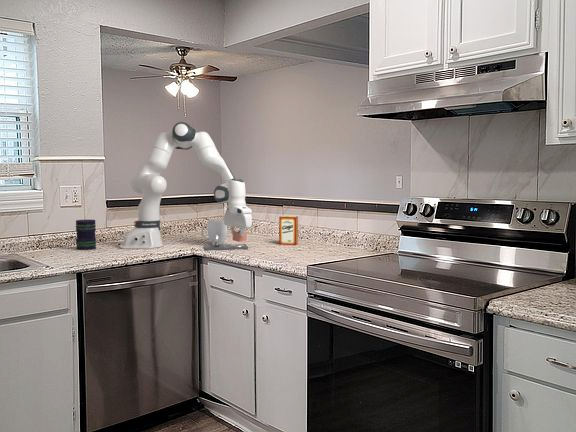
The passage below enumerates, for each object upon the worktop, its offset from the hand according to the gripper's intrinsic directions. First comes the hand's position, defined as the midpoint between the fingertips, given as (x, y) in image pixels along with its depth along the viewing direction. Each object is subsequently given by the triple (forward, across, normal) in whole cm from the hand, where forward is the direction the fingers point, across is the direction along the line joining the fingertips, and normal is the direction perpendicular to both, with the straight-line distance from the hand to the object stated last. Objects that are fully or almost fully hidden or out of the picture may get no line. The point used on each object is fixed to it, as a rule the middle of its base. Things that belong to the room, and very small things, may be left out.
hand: (237, 235), depth 300 cm
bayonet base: (+7, -3, -6) cm, 9 cm away
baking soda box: (+7, +7, +30) cm, 32 cm away
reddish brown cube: (+3, -1, +2) cm, 3 cm away
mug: (+7, -21, +1) cm, 22 cm away
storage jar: (+7, -49, -62) cm, 79 cm away
